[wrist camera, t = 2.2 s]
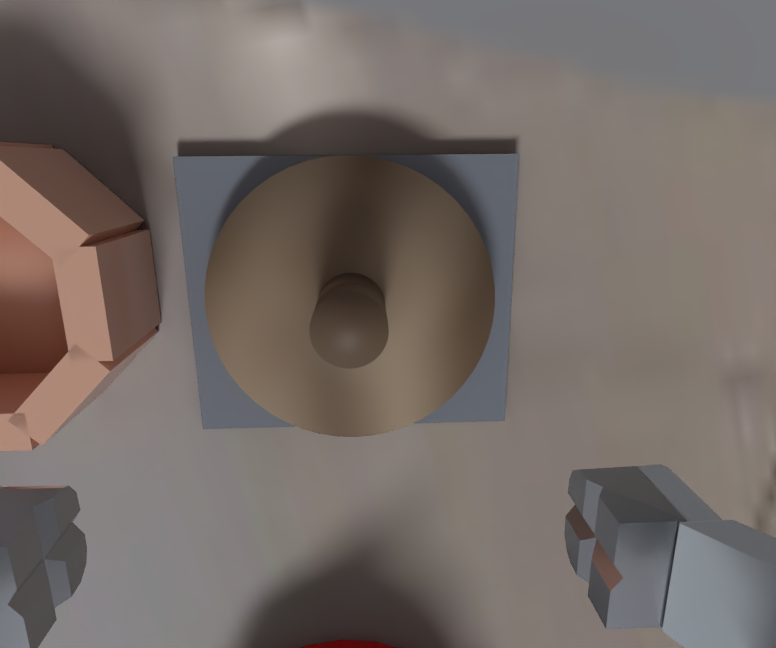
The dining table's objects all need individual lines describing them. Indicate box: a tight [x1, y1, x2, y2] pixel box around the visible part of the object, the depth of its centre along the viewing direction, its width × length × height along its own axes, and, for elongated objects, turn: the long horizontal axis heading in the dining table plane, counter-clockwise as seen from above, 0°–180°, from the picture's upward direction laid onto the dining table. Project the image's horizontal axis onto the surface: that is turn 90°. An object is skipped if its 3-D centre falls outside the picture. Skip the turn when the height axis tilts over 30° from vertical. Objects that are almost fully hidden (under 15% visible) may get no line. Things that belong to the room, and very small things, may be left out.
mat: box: [173, 154, 519, 429], centre depth 25 cm, size 14×12×1 cm
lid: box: [204, 155, 495, 437], centre depth 22 cm, size 12×12×5 cm
